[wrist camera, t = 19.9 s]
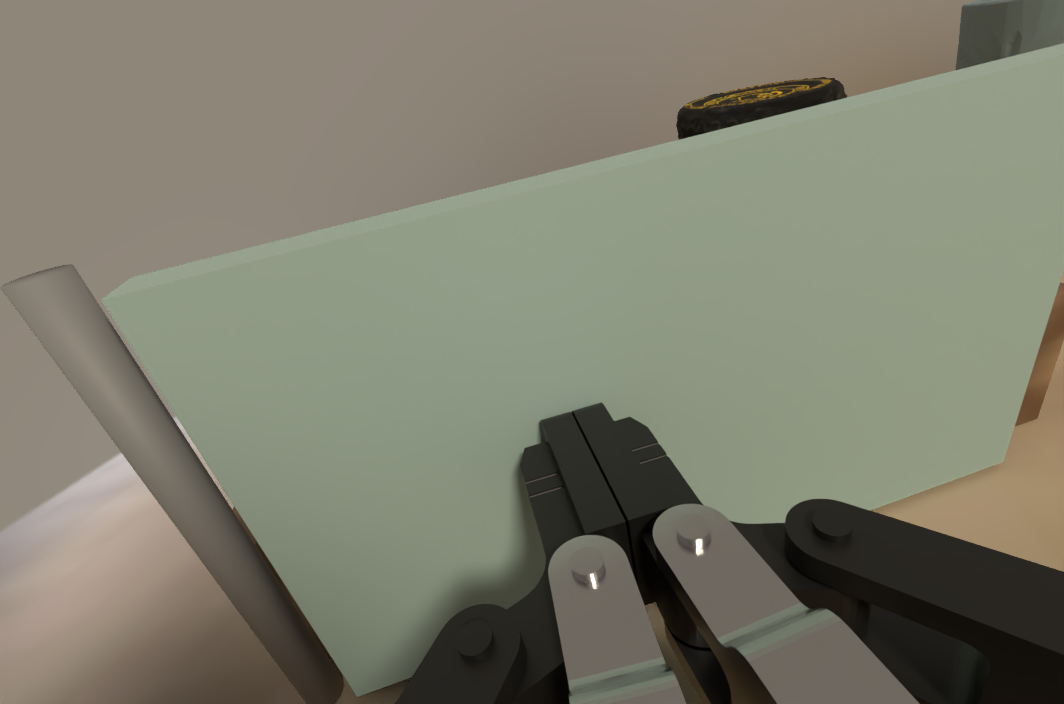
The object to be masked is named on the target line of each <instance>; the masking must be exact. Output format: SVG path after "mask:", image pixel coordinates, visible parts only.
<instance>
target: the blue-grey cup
mask: <svg viewBox="0 0 1064 704" xmlns="http://www.w3.org/2000/svg"><path fill="white" fill-rule="evenodd" d="M1063 43H1064V0H978V1H974V2H970V3H967V4H964V5H963V7H962V13H961V23H960V35H959V46H958V53H957V63H956V70H959V69H963V68H967V67H971V66H975V65H979V64H983V63H987V62H991V61H995V60H999V59H1003V58H1007V57H1011V56H1015V55H1019V54H1023V53H1027V52H1031V51H1035V50H1039V49H1043V48H1047V47H1051V46H1055V45H1059V44H1063Z"/></svg>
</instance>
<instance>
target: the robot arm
mask: <svg viewBox="0 0 1064 704" xmlns="http://www.w3.org/2000/svg"><path fill="white" fill-rule="evenodd" d="M540 423H541V428H542V432H543V436H544V441H545V442H543V443H540V444H536V445H533V446H530V447H526V448H525V449H524V452H523V456H522V460H521V463H520V467H521V470H522V474H523V478H524V481H525V485H526V489H527V492H528V496H529V500H530V503H531V507H532V510H533V514H534V518H535V521H536V524H537V528H538V531H539V535H540V538H541V542H542V545H543V549H544V552H545V556H546V565H545V570H544V573H543V575H542V577H541V579H540V581H539V583H538V584H537V585H536V587H535V588H534V589H533V590H532V591H531V592H530V593H529V594H528V595H527V596H525V597H524V598H523V599H521V600H520V601H518V602H517V603H515V604H514V605H513V606H511V607H510V608H508V609H507V610H506V609H505V608H503V607H500V606H498V605H494V604H477V605H474V606H470V607H468V608H466V609H464V610H462V611H460V612H459V613H457V614H456V615H455V616H453V617H452V618H451V619H450V620H449V621H448V622H447V623H446V624H445V626H444V627H443V628H442V630H441V631H440V633H439V635H438V636H437V638H436V639H435V641H434V643H433V644H432V646H431V647H430V649H429V651H428V652H427V654H426V655H425V657H424V659H423V660H422V662H421V663H420V665H419V667H418V668H417V670H416V671H415V673H414V675H413V676H412V678H411V679H410V681H409V683H408V684H407V686H406V687H405V689H404V691H403V692H402V694H401V695H400V697H399V699H398V700H397V702H396V703H395V704H686V702H685V699H684V696H683V693H682V691H681V688H680V686H679V683H678V681H677V678H676V676H675V674H674V672H673V670H672V669H671V667H668V666H667V665H666V662H665V660H664V658H663V655H662V652H661V650H660V647H659V644H658V641H657V638H656V636H655V633H654V630H653V627H652V625H651V622H650V619H649V616H648V614H647V611H646V608H645V605H647V604H650V603H653V602H656V604H657V606H658V608H659V610H660V612H661V614H662V616H663V619H664V625H665V633H666V637H667V640H668V642H669V644H670V646H671V648H672V650H673V651H674V653H675V655H676V657H677V658H678V660H679V662H680V664H681V666H682V667H683V669H684V671H685V673H686V675H687V676H688V678H689V680H690V682H691V683H692V685H693V687H694V689H695V691H696V692H697V694H698V696H699V698H700V700H701V701H702V703H703V704H1064V572H1062V571H1059V570H1056V569H1053V568H1049V567H1046V566H1043V565H1040V564H1037V563H1034V562H1030V561H1027V560H1024V559H1021V558H1018V557H1015V556H1011V555H1008V554H1005V553H1002V552H999V551H996V550H993V549H989V548H986V547H983V546H980V545H977V544H974V543H970V542H967V541H964V540H961V539H958V538H955V537H951V536H948V535H945V534H942V533H939V532H936V531H932V530H929V529H926V528H923V527H920V526H917V525H914V524H910V523H907V522H904V521H901V520H898V519H895V518H891V517H888V516H885V515H882V514H879V513H876V512H872V511H869V510H866V509H863V508H860V507H857V506H853V505H850V504H847V503H844V502H840V501H837V500H831V499H810V500H806V501H803V502H800V503H798V504H796V505H795V506H793V507H792V508H791V509H790V510H789V512H788V513H787V516H786V519H785V523H762V524H745V523H737V522H733V521H729V520H728V519H727V518H726V517H725V516H724V515H723V514H722V513H720V512H719V511H717V510H715V509H713V508H711V507H708V506H704V505H703V504H702V503H701V501H700V500H699V499H698V497H697V496H696V494H695V493H694V492H693V490H692V489H691V487H690V486H689V485H688V483H687V482H686V480H685V479H684V478H683V476H682V475H681V473H680V472H679V470H678V469H677V468H676V466H675V465H674V463H673V462H672V461H671V459H670V458H669V457H667V454H666V452H665V451H664V449H663V448H662V446H661V445H660V444H658V441H657V439H656V438H655V437H654V435H653V434H652V432H651V431H650V430H649V428H648V427H647V426H645V425H644V424H642V423H640V422H638V421H637V420H635V419H633V418H632V417H627V418H624V419H620V420H617V421H614V420H613V419H612V417H611V415H610V414H609V412H608V411H607V409H606V407H605V406H604V404H603V403H602V402H601V403H597V404H594V405H590V406H587V407H583V408H580V409H577V410H573V411H571V412H567V413H563V414H560V415H557V416H553V417H550V418H546V419H543V420H540Z"/></svg>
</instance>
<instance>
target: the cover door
mask: <svg viewBox="0 0 1064 704" xmlns="http://www.w3.org/2000/svg"><path fill="white" fill-rule="evenodd" d="M1063 271H1064V43H1063V44H1059V45H1055V46H1051V47H1047V48H1043V49H1039V50H1035V51H1031V52H1027V53H1023V54H1019V55H1015V56H1011V57H1007V58H1003V59H999V60H995V61H991V62H987V63H983V64H979V65H975V66H971V67H967V68H963V69H959V70H955V71H951V72H948V73H944V74H939V75H936V76H932V77H927V78H923V79H919V80H915V81H912V82H908V83H904V84H900V85H896V86H892V87H888V88H884V89H880V90H876V91H872V92H868V93H864V94H860V95H856V96H852V97H848V98H844V99H840V100H836V101H832V102H828V103H824V104H820V105H816V106H812V107H808V108H804V109H800V110H796V111H792V112H788V113H784V114H780V115H776V116H772V117H768V118H764V119H760V120H756V121H752V122H748V123H744V124H740V125H736V126H732V127H728V128H724V129H720V130H716V131H712V132H708V133H704V134H700V135H696V136H692V137H688V138H684V139H680V140H677V141H673V142H669V143H664V144H661V145H656V146H653V147H649V148H645V149H641V150H637V151H633V152H629V153H625V154H621V155H617V156H613V157H609V158H605V159H601V160H597V161H593V162H589V163H585V164H581V165H577V166H573V167H569V168H565V169H561V170H557V171H553V172H549V173H545V174H541V175H537V176H533V177H529V178H525V179H522V180H517V181H513V182H509V183H505V184H501V185H497V186H493V187H490V188H485V189H481V190H477V191H473V192H469V193H465V194H461V195H458V196H453V197H449V198H445V199H441V200H437V201H433V202H429V203H426V204H422V205H417V206H414V207H410V208H405V209H401V210H397V211H394V212H390V213H386V214H382V215H378V216H374V217H370V218H366V219H362V220H358V221H354V222H350V223H346V224H342V225H338V226H334V227H330V228H326V229H322V230H318V231H314V232H310V233H306V234H302V235H298V236H294V237H290V238H286V239H282V240H278V241H274V242H270V243H266V244H262V245H258V246H254V247H250V248H246V249H242V250H238V251H235V252H230V253H226V254H222V255H218V256H214V257H210V258H206V259H202V260H199V261H194V262H190V263H186V264H182V265H178V266H175V267H170V268H166V269H162V270H158V271H154V272H151V273H146V274H143V275H139V276H135V277H132V278H130V279H129V280H127V281H126V282H125V283H123V284H122V285H121V286H119V287H118V288H116V289H115V290H114V291H112V292H111V293H109V294H108V295H107V296H105V297H104V298H103V299H102V301H103V303H104V305H105V306H106V308H107V309H108V311H109V312H110V314H111V315H112V317H113V319H114V320H115V322H116V323H117V325H118V326H119V328H120V329H121V331H122V332H123V334H124V336H125V337H126V339H127V340H128V342H129V343H130V345H131V346H132V348H133V350H134V351H135V353H136V354H137V356H138V357H139V359H140V360H141V362H142V363H143V365H144V367H145V368H146V370H147V371H148V373H149V374H150V376H151V378H152V379H153V381H154V382H155V384H156V385H157V387H158V388H159V390H160V392H161V393H162V395H163V396H164V398H165V399H166V401H167V402H168V404H169V406H170V407H171V409H172V410H173V412H174V413H175V415H176V416H177V418H178V420H179V421H180V423H181V424H182V426H183V427H184V429H185V430H186V432H187V434H188V435H189V437H190V438H191V440H192V441H193V443H194V444H195V446H196V447H197V449H198V451H199V452H200V454H201V455H202V457H203V458H204V460H205V461H206V463H207V465H208V466H209V468H210V469H211V471H212V472H213V474H214V475H215V477H216V479H217V480H218V482H219V483H220V485H221V486H222V488H223V489H224V491H225V493H226V494H227V496H228V497H229V499H230V500H231V502H232V503H233V505H234V507H235V508H236V510H237V511H238V513H239V514H240V516H241V517H242V519H243V521H244V522H245V524H246V525H247V527H248V528H249V530H250V531H251V533H252V534H253V536H254V538H255V539H256V541H257V542H258V544H259V545H260V547H261V548H262V550H263V552H264V553H265V555H266V556H267V558H268V559H269V561H270V562H271V564H272V566H273V567H274V569H275V570H276V572H277V573H278V575H279V576H280V578H281V580H282V581H283V583H284V584H285V586H286V587H287V589H288V590H289V592H290V594H291V595H292V597H293V598H294V600H295V601H296V603H297V604H298V606H299V608H300V609H301V611H302V612H303V614H304V615H305V617H306V618H307V620H308V621H309V623H310V625H311V626H312V628H313V629H314V631H315V632H316V634H317V635H318V637H319V639H320V640H321V642H322V643H323V645H324V646H325V648H326V649H327V651H328V653H329V654H330V656H331V657H332V659H333V660H334V662H335V663H336V665H337V667H338V668H339V670H340V671H341V673H342V674H343V676H344V677H345V679H346V681H347V682H348V684H349V685H350V687H351V688H352V690H353V691H354V693H355V695H356V696H357V697H359V696H362V695H364V694H367V693H370V692H373V691H375V690H378V689H381V688H384V687H386V686H389V685H392V684H395V683H397V682H400V681H403V680H406V679H408V678H411V677H412V676H413V675H414V673H415V671H416V670H417V668H418V667H419V665H420V663H421V662H422V660H423V659H424V657H425V655H426V654H427V652H428V651H429V649H430V647H431V646H432V644H433V643H434V641H435V639H436V638H437V636H438V635H439V633H440V631H441V630H442V628H443V627H444V626H445V624H446V623H447V622H448V621H449V620H450V619H451V618H452V617H453V616H455V615H456V614H457V613H459V612H460V611H462V610H464V609H466V608H468V607H470V606H474V605H477V604H494V605H498V606H500V607H503V608H505V609H506V610H507V609H508V608H510V607H511V606H513V605H514V604H515V603H517V602H518V601H520V600H521V599H523V598H524V597H525V596H527V595H528V594H529V593H530V592H531V591H532V590H533V589H534V588H535V587H536V585H537V584H538V583H539V581H540V579H541V577H542V575H543V573H544V570H545V565H546V556H545V552H544V549H543V545H542V542H541V538H540V535H539V531H538V528H537V524H536V521H535V518H534V514H533V510H532V507H531V503H530V500H529V496H528V492H527V489H526V485H525V481H524V478H523V474H522V470H521V467H520V463H521V460H522V456H523V452H524V449H525V448H526V447H530V446H533V445H536V444H540V443H543V442H545V441H544V436H543V432H542V428H541V423H540V420H543V419H546V418H550V417H553V416H557V415H560V414H563V413H567V412H571V411H573V410H577V409H580V408H583V407H587V406H590V405H594V404H597V403H601V402H602V403H603V404H604V406H605V407H606V409H607V411H608V412H609V414H610V415H611V417H612V419H613V420H614V421H617V420H620V419H624V418H627V417H632V418H633V419H635V420H637V421H638V422H640V423H642V424H644V425H645V426H647V427H648V428H649V430H650V431H651V432H652V434H653V435H654V437H655V438H656V439H657V441H658V444H660V445H661V446H662V448H663V449H664V451H665V452H666V454H667V457H669V458H670V459H671V461H672V462H673V463H674V465H675V466H676V468H677V469H678V470H679V472H680V473H681V475H682V476H683V478H684V479H685V480H686V482H687V483H688V485H689V486H690V487H691V489H692V490H693V492H694V493H695V494H696V496H697V497H698V499H699V500H700V501H701V503H702V504H703V505H704V506H708V507H711V508H713V509H715V510H717V511H719V512H720V513H722V514H723V515H724V516H725V517H726V518H727V519H728V520H729V521H733V522H737V523H745V524H762V523H785V519H786V516H787V513H788V512H789V510H790V509H791V508H792V507H793V506H795V505H796V504H798V503H800V502H803V501H806V500H810V499H831V500H837V501H840V502H844V503H847V504H850V505H853V506H857V507H860V508H863V509H866V510H869V511H870V510H873V509H876V508H878V507H881V506H884V505H887V504H889V503H892V502H895V501H898V500H900V499H903V498H906V497H909V496H911V495H914V494H917V493H920V492H922V491H925V490H928V489H931V488H933V487H936V486H939V485H942V484H944V483H947V482H950V481H953V480H955V479H958V478H961V477H964V476H966V475H969V474H972V473H975V472H977V471H980V470H983V469H986V468H988V467H991V466H994V465H997V464H999V463H1002V462H1004V459H1005V456H1006V452H1007V449H1008V446H1009V443H1010V440H1011V437H1012V433H1013V430H1014V427H1015V424H1016V421H1017V418H1018V414H1019V411H1020V408H1021V405H1022V402H1023V398H1024V395H1025V392H1026V389H1027V386H1028V383H1029V379H1030V376H1031V373H1032V370H1033V367H1034V364H1035V360H1036V357H1037V354H1038V351H1039V348H1040V344H1041V341H1042V338H1043V335H1044V332H1045V329H1046V325H1047V322H1048V319H1049V316H1050V313H1051V310H1052V306H1053V303H1054V300H1055V297H1056V294H1057V290H1058V287H1059V284H1060V281H1061V278H1062V275H1063ZM1 289H2V291H3V292H4V294H5V295H6V296H7V297H8V299H9V300H10V302H11V303H12V304H13V306H14V307H15V309H16V310H17V311H18V312H19V314H20V315H21V317H22V318H23V319H24V321H25V322H26V323H27V325H28V326H29V328H30V329H31V330H32V331H33V333H34V334H35V336H36V337H37V338H38V340H39V341H40V342H41V343H42V345H43V347H44V348H45V349H46V351H47V352H48V353H49V355H50V356H51V357H52V359H53V360H54V361H55V363H56V364H57V365H58V367H59V368H60V370H61V371H62V372H63V374H64V375H65V376H66V378H67V379H68V380H69V382H70V383H71V384H72V386H73V387H74V389H75V390H76V391H77V393H78V394H79V395H80V397H81V398H82V399H83V401H84V402H85V404H86V405H87V406H88V408H89V409H90V410H91V412H92V413H93V414H94V416H95V417H96V418H97V420H98V421H99V422H100V424H101V425H102V427H103V428H104V429H105V431H106V432H107V433H108V435H109V436H110V437H111V439H112V440H113V442H114V443H115V444H116V446H117V447H118V448H119V450H120V451H121V452H122V454H123V455H124V457H125V458H126V459H127V461H128V462H129V463H130V465H131V466H132V467H133V469H134V470H135V471H136V473H137V474H138V476H139V477H140V478H141V480H142V481H143V482H144V484H145V485H146V486H147V488H148V489H149V490H150V492H151V493H152V495H153V496H154V497H155V499H156V500H157V501H158V503H159V504H160V505H161V507H162V508H163V509H164V511H165V512H166V514H167V515H168V516H169V518H170V519H171V520H172V522H173V523H174V524H175V526H176V527H177V528H178V530H179V531H180V533H181V534H182V535H183V537H184V538H185V539H186V541H187V542H188V543H189V545H190V546H191V547H192V549H193V550H194V552H195V553H196V554H197V556H198V557H199V558H200V560H201V561H202V562H203V564H204V565H205V566H206V568H207V569H208V571H209V572H210V573H211V575H212V576H213V577H214V579H215V580H216V581H217V583H218V584H219V585H220V587H221V588H222V590H223V591H224V592H225V594H226V595H227V596H228V598H229V599H230V600H231V602H232V603H233V604H234V606H235V607H236V609H237V610H238V611H239V613H240V614H241V615H242V617H243V618H244V619H245V621H246V622H247V623H248V625H249V626H250V628H251V629H252V630H253V632H254V633H255V634H256V636H257V637H258V638H259V640H260V641H261V643H262V644H263V645H264V647H265V648H266V649H267V651H268V652H269V653H270V655H271V656H272V657H273V659H274V660H275V662H276V663H277V664H278V666H279V667H280V668H281V670H282V671H283V672H284V674H285V675H286V676H287V678H288V679H289V681H290V682H291V683H292V685H293V686H294V687H295V689H296V690H297V691H298V693H299V694H300V695H301V697H302V698H303V700H304V701H305V702H306V704H334V703H335V702H336V701H337V700H338V698H339V697H340V695H341V693H342V690H343V680H342V678H341V677H340V675H339V674H338V672H337V671H336V669H335V667H334V666H333V664H332V663H331V661H330V660H329V658H328V657H327V655H326V654H325V652H324V651H323V649H322V647H321V646H320V644H319V643H318V641H317V640H316V638H315V637H314V635H313V634H312V632H311V631H310V629H309V627H308V626H307V624H306V623H305V621H304V620H303V618H302V617H301V615H300V614H299V612H298V611H297V609H296V607H295V606H294V604H293V603H292V601H291V600H290V598H289V597H288V595H287V594H286V592H285V590H284V589H283V587H282V586H281V584H280V583H279V581H278V580H277V578H276V577H275V575H274V574H273V572H272V570H271V569H270V567H269V566H268V564H267V563H266V561H265V560H264V558H263V557H262V555H261V554H260V552H259V550H258V549H257V547H256V546H255V544H254V543H253V541H252V540H251V538H250V537H249V535H248V534H247V532H246V530H245V529H244V527H243V526H242V524H241V523H240V521H239V520H238V518H237V517H236V515H235V514H234V512H233V510H232V509H231V507H230V506H229V504H228V503H227V501H226V500H225V498H224V497H223V495H222V493H221V492H220V490H219V489H218V487H217V486H216V484H215V483H214V481H213V480H212V478H211V477H210V475H209V473H208V472H207V470H206V469H205V467H204V466H203V464H202V463H201V461H200V460H199V458H198V457H197V455H196V453H195V452H194V450H193V449H192V447H191V446H190V444H189V443H188V441H187V440H186V438H185V437H184V435H183V433H182V432H181V430H180V429H179V427H178V426H177V424H176V423H175V421H174V420H173V418H172V416H171V415H170V413H169V412H168V410H167V409H166V407H165V406H164V404H163V403H162V401H161V400H160V398H159V396H158V395H157V393H156V392H155V390H154V389H153V387H152V386H151V384H150V383H149V381H148V380H147V378H146V377H145V375H144V373H143V372H142V370H141V369H140V367H139V366H138V364H137V363H136V361H135V360H134V358H133V356H132V355H131V354H130V352H129V350H128V349H127V347H126V346H125V344H124V343H123V341H122V340H121V338H120V336H119V335H118V333H117V332H116V330H115V329H114V327H113V326H112V324H111V323H110V321H109V319H108V318H107V316H106V315H105V313H104V312H103V310H102V309H101V307H100V306H99V304H98V303H97V301H96V300H95V298H94V296H93V295H92V293H91V292H90V290H89V289H88V287H87V286H86V284H85V283H84V281H83V280H82V278H81V276H80V275H79V273H78V272H77V270H76V269H75V267H74V266H73V265H63V266H58V267H54V268H50V269H46V270H43V271H39V272H36V273H33V274H30V275H27V276H24V277H21V278H19V279H16V280H13V281H11V282H9V283H7V284H5V285H3V286H1Z"/></svg>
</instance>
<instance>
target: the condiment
mask: <svg viewBox="0 0 1064 704" xmlns="http://www.w3.org/2000/svg"><path fill="white" fill-rule="evenodd" d="M844 98H847V95H846V94H845V92H844V87H843V85H842V84H841V83H840V82H839V81H837V80H835V79H834V78H830V79H829V78H825V77H821V78H813V79H802V80H792V81H784V82H776V83H771V84H766V85H759V86H754V87H747V88H743V89H738V90H733V91H728V92H724V93H720V94H713V95H710V96H707V97H704V98H701V99H698V100H695V101H691V102H689V103H688V104H686V105H684V106H683V108H681V109H680V111H679V112H678V117H677V119H678V121H677V125H676V126H677V130H678V138H679V140H680V139H684V138H688V137H692V136H696V135H700V134H704V133H708V132H712V131H716V130H720V129H724V128H728V127H732V126H736V125H740V124H744V123H748V122H752V121H756V120H760V119H764V118H768V117H772V116H776V115H780V114H784V113H788V112H792V111H796V110H800V109H804V108H808V107H812V106H816V105H820V104H824V103H828V102H832V101H836V100H840V99H844Z"/></svg>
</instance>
